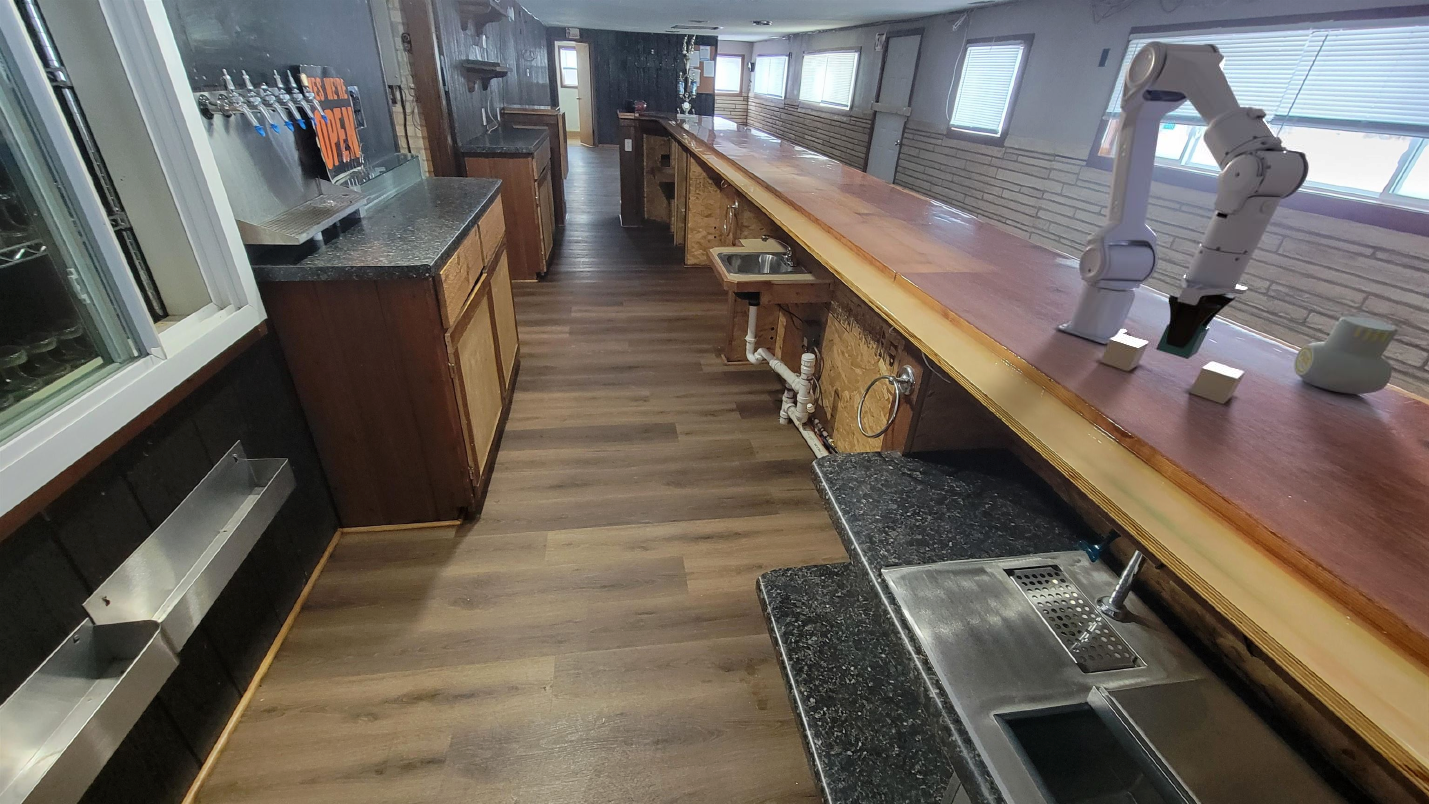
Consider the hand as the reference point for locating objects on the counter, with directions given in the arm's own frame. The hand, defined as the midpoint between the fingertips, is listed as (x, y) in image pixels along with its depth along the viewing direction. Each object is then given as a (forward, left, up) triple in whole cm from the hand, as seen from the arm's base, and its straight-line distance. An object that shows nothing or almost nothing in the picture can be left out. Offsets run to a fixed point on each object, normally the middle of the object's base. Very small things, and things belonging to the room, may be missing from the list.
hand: (1180, 342), depth 82 cm
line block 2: (0, +6, -6) cm, 8 cm away
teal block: (0, 0, -1) cm, 1 cm away
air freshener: (-20, +15, -6) cm, 26 cm away
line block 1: (0, -6, -6) cm, 8 cm away
